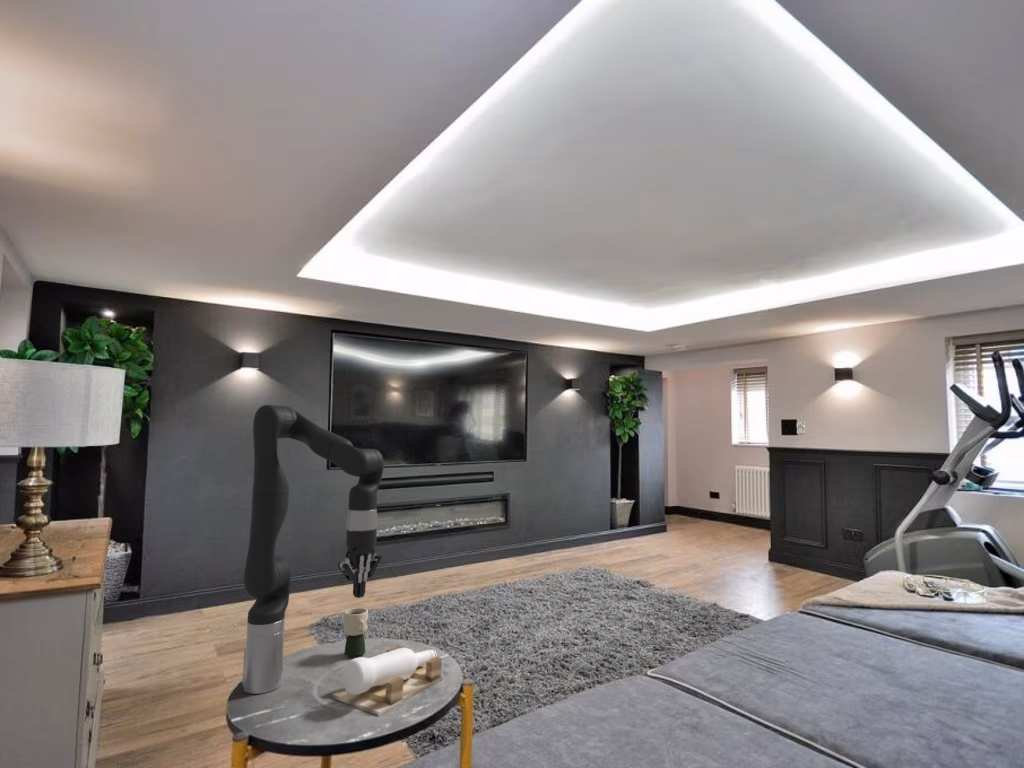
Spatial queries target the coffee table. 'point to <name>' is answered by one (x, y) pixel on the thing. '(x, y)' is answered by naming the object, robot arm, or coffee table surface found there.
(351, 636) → the character mug
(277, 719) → the coffee table surface
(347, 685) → the bottle
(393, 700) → the bottle cradle
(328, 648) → the coffee table surface
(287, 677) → the coffee table surface
